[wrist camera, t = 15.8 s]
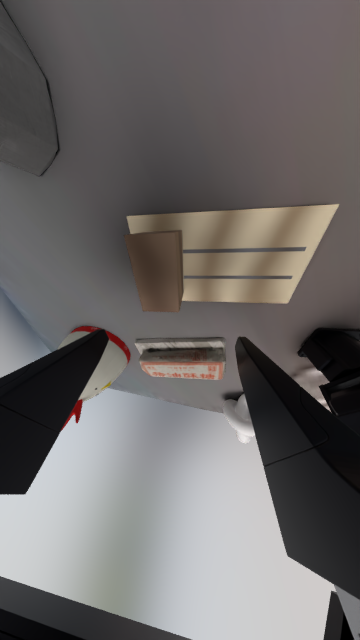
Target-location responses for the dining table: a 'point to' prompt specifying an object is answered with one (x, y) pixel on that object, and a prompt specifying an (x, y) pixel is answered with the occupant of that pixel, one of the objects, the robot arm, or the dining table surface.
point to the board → (243, 250)
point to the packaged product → (183, 357)
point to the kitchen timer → (99, 366)
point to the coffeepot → (23, 105)
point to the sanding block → (158, 268)
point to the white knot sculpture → (239, 418)
